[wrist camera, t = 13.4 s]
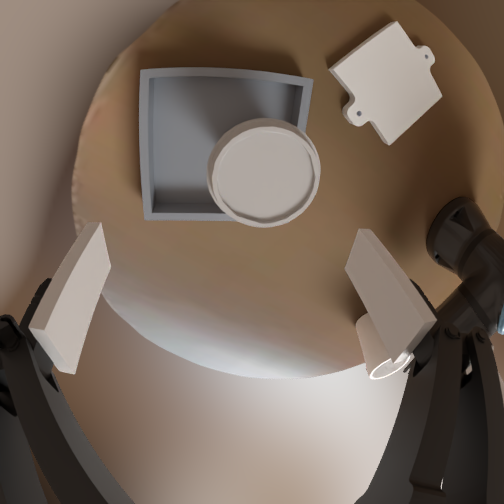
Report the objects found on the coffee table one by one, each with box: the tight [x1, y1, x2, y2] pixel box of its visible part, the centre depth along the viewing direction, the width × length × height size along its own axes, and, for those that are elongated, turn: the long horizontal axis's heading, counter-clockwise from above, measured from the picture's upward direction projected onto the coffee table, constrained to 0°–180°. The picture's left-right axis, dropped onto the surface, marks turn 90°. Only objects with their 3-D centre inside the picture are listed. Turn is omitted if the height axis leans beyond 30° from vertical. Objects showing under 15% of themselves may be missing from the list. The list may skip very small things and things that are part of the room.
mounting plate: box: [328, 21, 442, 145], centre depth 27 cm, size 18×13×2 cm
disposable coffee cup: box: [207, 118, 320, 227], centre depth 26 cm, size 10×10×12 cm
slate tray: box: [139, 67, 314, 223], centre depth 29 cm, size 18×18×4 cm
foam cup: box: [355, 313, 410, 379], centre depth 51 cm, size 10×9×13 cm
